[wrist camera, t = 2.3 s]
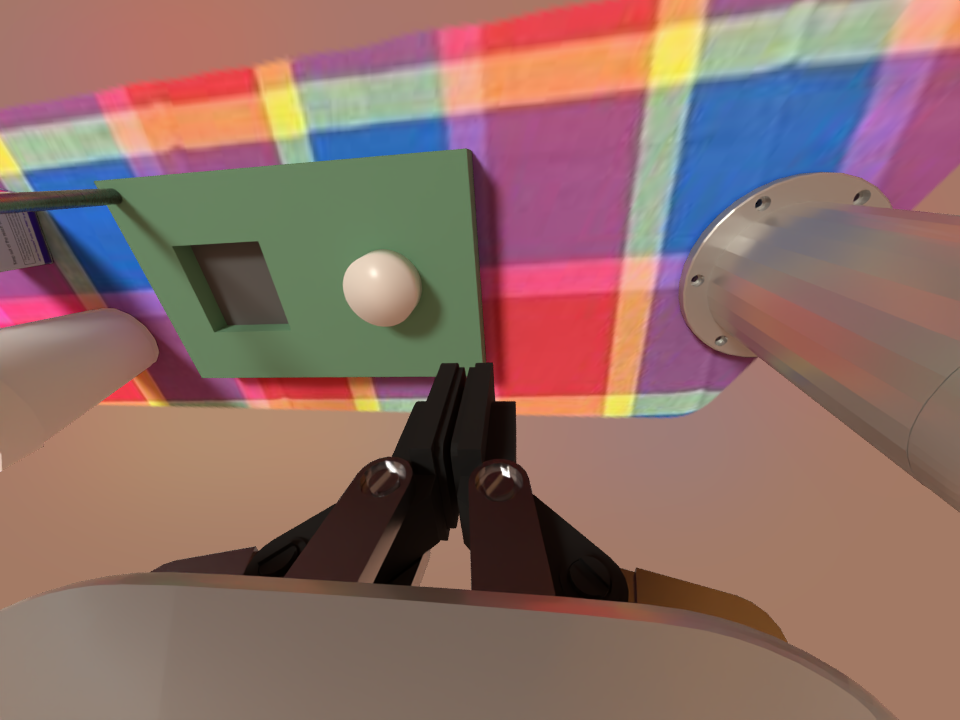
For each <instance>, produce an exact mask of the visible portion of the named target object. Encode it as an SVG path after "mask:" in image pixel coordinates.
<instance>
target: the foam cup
mask: <svg viewBox="0 0 960 720" xmlns="http://www.w3.org/2000/svg"><path fill="white" fill-rule="evenodd" d="M158 355H159V349H158V346H157V343H156V340H155V338H154V337H153V336H152V334H151V333H150V332H149V330H148V329H147V328H146V326H144V325H143V324H142V323H141V322H139V321H138V320H137V319H135V318H134V317H133V316H131V315H130V314H127V313H125V312H122V311H120V310H118V309H115V308H100V309H97V310H89V311H84V312H79V313H74V314H69V315H64V316H59V317H54V318H49V319H44V320H40V321H35V322H30V323H25V324H20V325H15V326H10V327H5V328H0V472H1V471H2V470H4V469H6V468H8V467H10V466H11V465H13V464H15V463H16V462H18V461H20V460H22V459H23V458H25V457H27V456H28V455H30V454H32V453H34V452H35V451H37V450H39V449H40V448H42V447H44V442H46V441H47V440H48V439H50V438H51V437H53V436H54V435H55V434H57V433H58V432H59V431H61V430H62V429H64V428H65V427H67V426H68V425H69V424H71V423H72V422H73V421H75V420H76V419H78V418H79V417H80V416H82V415H83V414H84V413H86V412H87V411H89V410H90V409H91V408H93V407H94V406H96V405H97V404H98V403H100V402H101V401H103V400H104V399H105V398H107V397H108V396H110V395H111V394H112V393H114V392H115V391H116V390H118V389H119V388H121V387H122V386H123V385H125V384H126V383H128V382H129V381H130V380H132V379H133V378H134V377H136V376H137V375H139V374H140V373H141V372H143V371H144V370H146V369H147V368H148V367H150V366H151V365H152V364H153V363H155V362H156V361H157V358H158Z"/></svg>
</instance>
